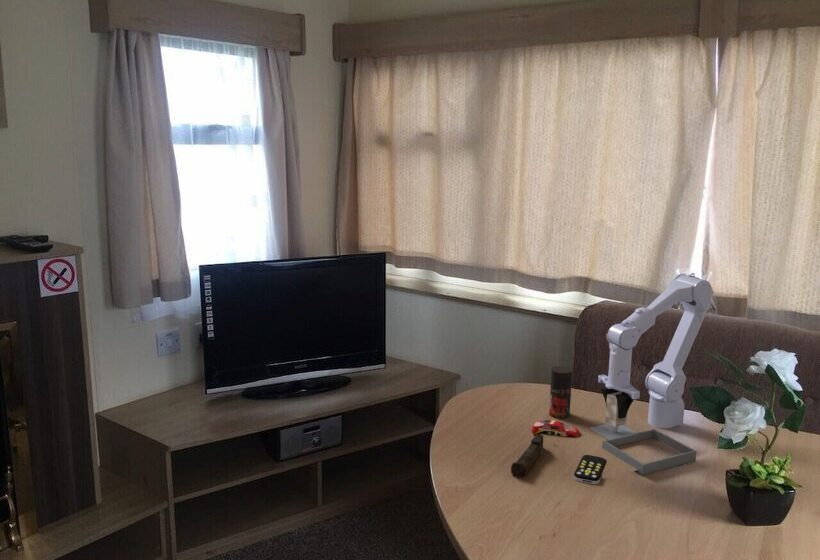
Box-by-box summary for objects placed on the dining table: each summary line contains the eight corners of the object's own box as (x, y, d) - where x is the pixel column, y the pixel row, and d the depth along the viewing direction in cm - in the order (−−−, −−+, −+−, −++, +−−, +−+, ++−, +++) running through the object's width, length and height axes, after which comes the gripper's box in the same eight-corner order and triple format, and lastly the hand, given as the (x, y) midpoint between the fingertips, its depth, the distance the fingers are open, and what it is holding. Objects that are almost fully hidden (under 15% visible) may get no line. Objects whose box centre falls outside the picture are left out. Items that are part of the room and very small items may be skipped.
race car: (580, 434, 205) (581, 421, 204) (579, 443, 200) (580, 429, 199) (533, 428, 208) (533, 415, 208) (530, 436, 203) (531, 423, 202)
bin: (653, 438, 202) (654, 428, 201) (695, 461, 189) (696, 451, 188) (601, 451, 194) (602, 440, 194) (642, 476, 181) (642, 464, 180)
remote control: (607, 464, 188) (607, 457, 187) (597, 486, 177) (598, 479, 176) (582, 459, 190) (583, 452, 190) (572, 481, 179) (572, 473, 179)
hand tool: (525, 480, 179) (526, 462, 178) (510, 476, 181) (511, 458, 180) (551, 450, 195) (552, 434, 194) (537, 447, 197) (538, 431, 196)
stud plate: (616, 424, 211) (617, 412, 210) (641, 438, 202) (642, 426, 201) (588, 431, 206) (589, 418, 206) (612, 445, 198) (613, 432, 197)
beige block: (605, 421, 204) (607, 394, 202) (616, 418, 206) (618, 392, 204) (615, 426, 201) (617, 399, 199) (626, 424, 202) (628, 397, 201)
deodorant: (544, 415, 217) (547, 367, 213) (561, 412, 219) (564, 365, 216) (556, 423, 211) (559, 374, 208) (573, 420, 214) (576, 371, 210)
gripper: (590, 362, 204) (587, 407, 208) (626, 378, 192) (623, 427, 195) (610, 358, 207) (607, 403, 210) (647, 374, 195) (643, 422, 198)
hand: (616, 414), depth 203 cm, fingers closed on beige block, 4 cm apart
